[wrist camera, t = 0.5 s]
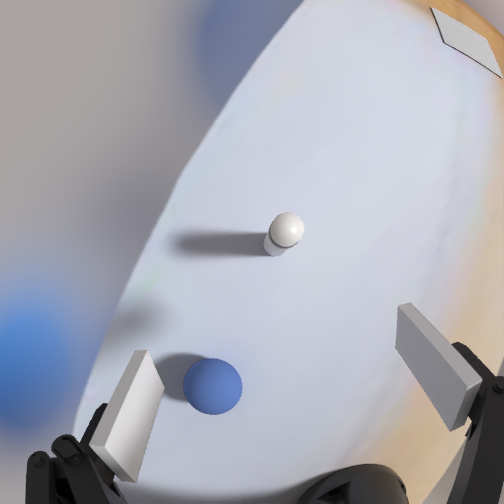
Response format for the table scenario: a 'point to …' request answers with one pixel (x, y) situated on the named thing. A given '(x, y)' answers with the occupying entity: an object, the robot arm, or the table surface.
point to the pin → (283, 234)
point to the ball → (212, 386)
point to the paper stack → (466, 41)
